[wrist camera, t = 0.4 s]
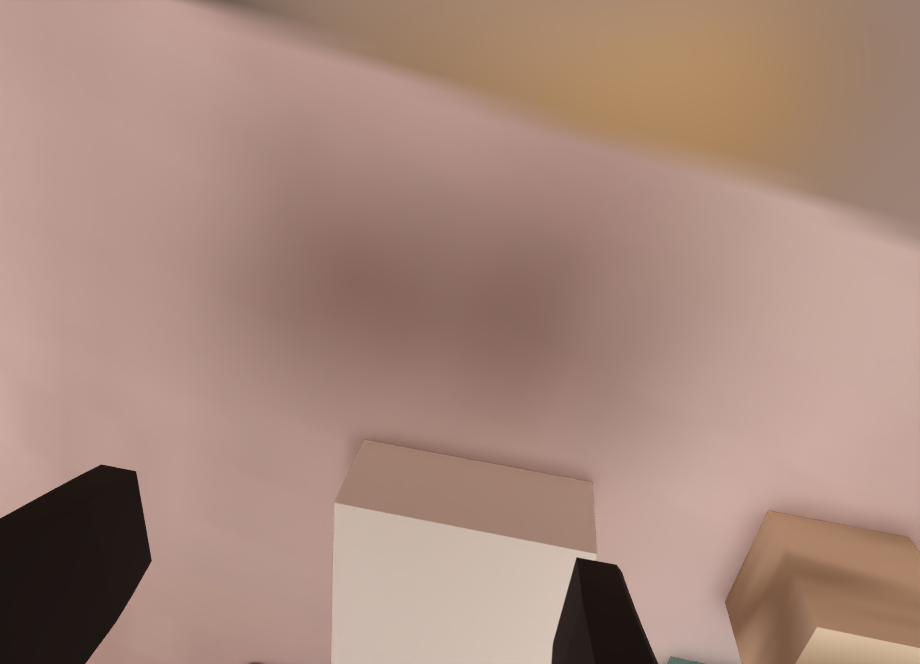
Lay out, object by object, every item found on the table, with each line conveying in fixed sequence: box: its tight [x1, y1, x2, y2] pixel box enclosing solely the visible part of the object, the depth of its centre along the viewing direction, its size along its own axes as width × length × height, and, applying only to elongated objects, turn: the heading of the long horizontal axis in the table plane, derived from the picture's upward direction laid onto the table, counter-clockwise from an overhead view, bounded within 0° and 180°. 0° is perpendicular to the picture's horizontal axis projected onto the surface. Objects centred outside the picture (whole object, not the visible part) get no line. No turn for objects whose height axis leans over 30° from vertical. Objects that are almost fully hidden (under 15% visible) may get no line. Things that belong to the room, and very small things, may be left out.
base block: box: [331, 440, 597, 664], centre depth 22 cm, size 8×8×4 cm
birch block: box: [725, 511, 920, 664], centre depth 19 cm, size 4×4×4 cm
